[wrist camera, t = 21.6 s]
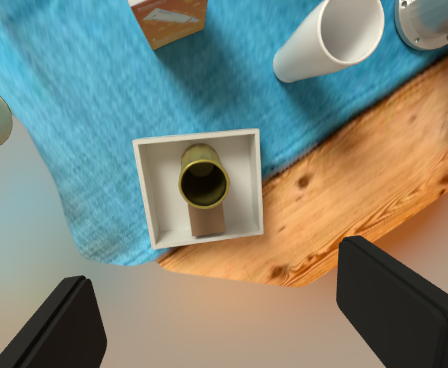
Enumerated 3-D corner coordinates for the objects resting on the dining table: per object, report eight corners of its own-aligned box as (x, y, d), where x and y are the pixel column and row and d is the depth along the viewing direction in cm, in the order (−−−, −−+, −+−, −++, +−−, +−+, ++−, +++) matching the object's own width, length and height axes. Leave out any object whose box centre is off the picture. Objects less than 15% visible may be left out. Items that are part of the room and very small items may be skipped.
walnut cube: (218, 190, 39) (222, 200, 34) (221, 218, 40) (225, 231, 35) (188, 194, 38) (187, 205, 34) (192, 222, 40) (192, 236, 35)
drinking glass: (317, 60, 36) (400, 19, 22) (290, 97, 37) (352, 81, 23) (285, 29, 35) (351, -38, 20) (258, 69, 36) (302, 32, 21)
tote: (250, 128, 38) (259, 128, 33) (255, 221, 42) (263, 234, 37) (140, 138, 36) (132, 140, 31) (157, 234, 40) (152, 249, 35)
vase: (202, 188, 38) (207, 224, 25) (172, 164, 37) (160, 188, 23) (227, 160, 38) (246, 181, 24) (198, 134, 36) (201, 141, 22)
